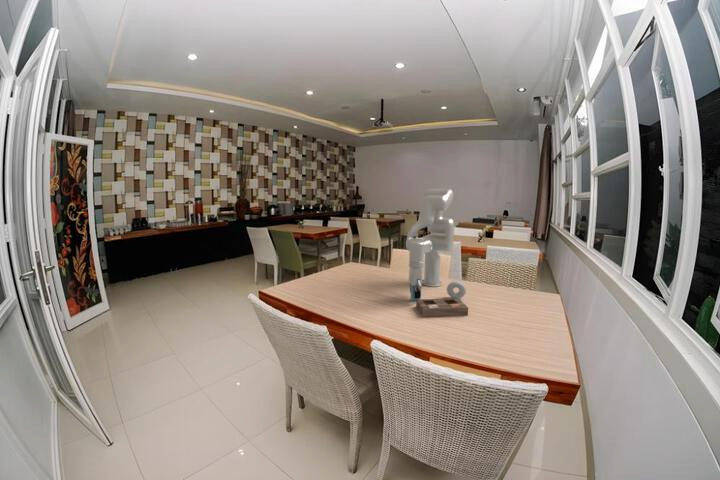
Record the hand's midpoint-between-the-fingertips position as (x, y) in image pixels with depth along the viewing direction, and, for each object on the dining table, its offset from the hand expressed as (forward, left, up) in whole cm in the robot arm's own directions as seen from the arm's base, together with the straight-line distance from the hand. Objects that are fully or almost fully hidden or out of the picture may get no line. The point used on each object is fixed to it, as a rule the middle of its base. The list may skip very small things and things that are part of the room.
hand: (415, 295), depth 156 cm
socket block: (+15, +9, -3) cm, 18 cm away
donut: (0, +23, -3) cm, 23 cm away
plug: (0, 0, -3) cm, 3 cm away
